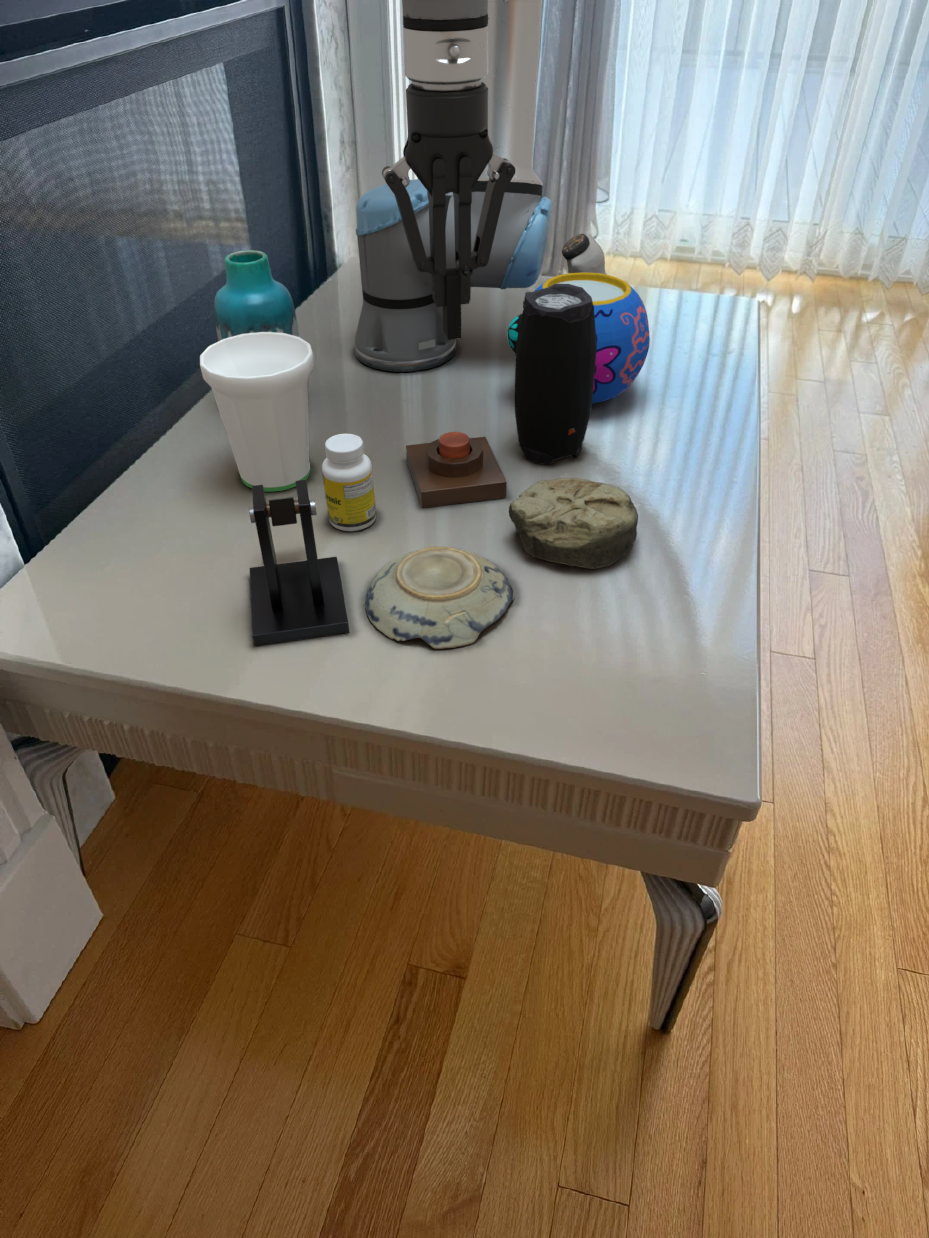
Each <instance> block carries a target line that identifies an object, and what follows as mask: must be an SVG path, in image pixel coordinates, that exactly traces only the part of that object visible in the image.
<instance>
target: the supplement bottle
mask: <svg viewBox="0 0 929 1238" xmlns="http://www.w3.org/2000/svg"><path fill="white" fill-rule="evenodd" d="M324 447H325V455H326V458H324V460H323V462H322V464H321V473H322V480H323V486H324V494H325V503H326V508H327V516H328V521H329V523H330V525H332V527H334V528H335V529H338V530H340V531H344V532H357V531H362V530H365V529H366V528H369V527H370V526H371V525H372V524H374V522H375V521H376V519H377V505H376V496H375V487H374V486H375V485H374V477H373V476H374V475H373V466H372V461H371V459H370V458H369V456H367V455H366V454H365V451H364V450H365V449H364V441H363V439H362V438H361V437H360V436H359V435H356V434H353V433H339V434H335V435H332V436H330V437H329V438H327V440H325V444H324Z"/></svg>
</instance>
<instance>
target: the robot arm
mask: <svg viewBox="0 0 929 1238" xmlns="http://www.w3.org/2000/svg"><path fill="white" fill-rule="evenodd" d="M542 7H543V0H401V9H402V30H403V31H402V32H403V36H402V37H403V60H404V61H403V62H404V76H405V77H406V78H407V79H408V80H409V81H411V83H410V84H408V86H407V88H406V89H405V103H406V104H405V105H406V123H407V124H406V126H407V140H406V142H405V145H404V147H403V149H402V155H403V156H402V157H401V158H400V159H399V160H397V161H396V162H395V163H394V164H393V165H391V166H390V165H386V166H384V167H383V168H382V170H381V175H382V177H383V180H384V181H385V184H382V185H379V186H376V187H374V188H372V189H369V190H368V191H366V192H365V193H363V194H362V195H361V196H360V197H359V199H358V200H357V203H356V207H355V208H356V209H355V210H356V211H355V212H356V214H355V215H356V229H355V234H356V236H357V248H358V258H359V259H358V260H359V269H360V270H359V271H360V282H361V291H362V306H361V310H360V314H359V318H358V323H357V327H356V331H355V335H354V354H355V358H357V360H358V361H359V362H361V364H364V365H365V366H367V367H370V368H373V369H375V370H376V369H377V370H380V371H386V372H399V373H401V372H402V373H403V372H405V373H406V372H407V373H408V372H418V371H424V370H428V369H432V368H436V367H438V366H441V365H443V364H445V363H446V362H448V361H449V360H451V359H452V358H453V357H454V355H455V354H456V352H457V340H458V339H459V340H460V339H462V335H463V334H462V332H463V331H462V305H469V304H470V302H471V299H472V298H471V297H472V296H471V290H472V289H471V288H490V289H500V290H507V289H527V288H531V287H532V286H533V285H534V284H535V283H536V282H537V281H538V279H539V276H540V273H541V270H542V267H543V262H544V258H545V253H546V248H547V244H548V238H549V233H550V227H551V219H552V212H553V201H552V199H551V198H548V197H547V196H543V185H544V184H543V182H542V180H541V179H540V178H539V176H538V175H537V174H536V173H535V171H534V151H535V150H534V148H535V129H536V116H537V115H536V113H537V97H538V96H537V94H538V79H539V59H540V46H541V45H540V43H541V42H540V41H541V25H542V9H543V8H542ZM410 170H411V171H412V172H413V174H414V175H415V177H416V179H415V178H414V179H410V177H409V173H410ZM450 193H452V195H449V194H450Z"/></svg>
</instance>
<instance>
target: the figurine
mask: <svg viewBox="0 0 929 1238" xmlns="http://www.w3.org/2000/svg"><path fill="white" fill-rule="evenodd" d="M561 254H562V256H563V258H564V259H565V261H566V264H567V274H568V273H581V272H586V273H600V274H606V275H608V274H607V272H606V258H605V253H604V250H603V248H602V247H601V245H600V244H599V243H598V242H597V241H596V239H595V237H594V236H593V235H592V234H591V233H585V234H584V233H578V234H576V235H574V236H572V237H571V238H570V239H569V240H567V241H566V242H565V244H564V245H563V246H562V249H561Z"/></svg>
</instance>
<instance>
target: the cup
mask: <svg viewBox="0 0 929 1238" xmlns="http://www.w3.org/2000/svg"><path fill="white" fill-rule="evenodd" d="M314 367H315V363H314V352H313V349H312V345H311V344H310V343H309V342H308V341H306V340H305V339H303V338H302V337H300V336H299V337H297V336H293V335H289V334H285V333H275V332H257V333H247V334H240V335H237V336H233V337H229V338H226V339H223V340H221V341H219V342H218V341H217V342H215V343H212V344H210V345H209V346H207V347H206V348H205V350H204V351H203V352H202V353H200V356H199V368H200V371H201V375H202V379H203V381H204V382H205V383H206V384H207V385H208V386H209V387H210V388H211V391H212V394H213V397H214V400H215V403H216V406H217V409H218V413H219V415H220V419H221V421H222V424H223V428H224V431H225V434H226V437H227V439H228V443H229V447H230V449H231V451H232V455H233V458H234V462H235V464H236V467H237V470H238V474H239V475H240V479H241V482H242V483H243V484H244V485H245V486H246V487H247V488H250V489H252V486H255V485H263V489H264V492H267V493H273V492H275V493H276V492H282V491H287V490H290V489H293V488H296V481H299V480H306V481H307V480H308V479H309V477H310V474H311V472H312V471H311V463H310V440H309V439H310V437H309V435H310V434H309V433H310V431H309V377H310V374H311V372H312V371H313V369H314Z"/></svg>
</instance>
